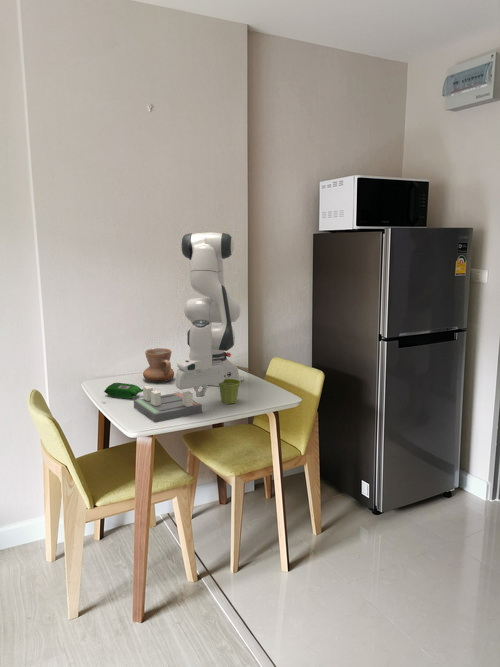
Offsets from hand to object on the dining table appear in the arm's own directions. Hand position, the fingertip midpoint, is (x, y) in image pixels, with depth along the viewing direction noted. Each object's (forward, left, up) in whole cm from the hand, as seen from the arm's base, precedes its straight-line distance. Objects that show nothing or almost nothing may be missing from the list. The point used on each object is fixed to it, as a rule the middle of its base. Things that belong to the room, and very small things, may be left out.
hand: (200, 396), depth 207 cm
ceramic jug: (-4, -46, -6) cm, 47 cm away
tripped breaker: (+6, 0, -2) cm, 6 cm away
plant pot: (-15, -3, -6) cm, 17 cm away
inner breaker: (+16, -14, -2) cm, 21 cm away
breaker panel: (+11, -7, -6) cm, 14 cm away
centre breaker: (+16, -7, -2) cm, 17 cm away
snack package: (+19, -32, -6) cm, 38 cm away
